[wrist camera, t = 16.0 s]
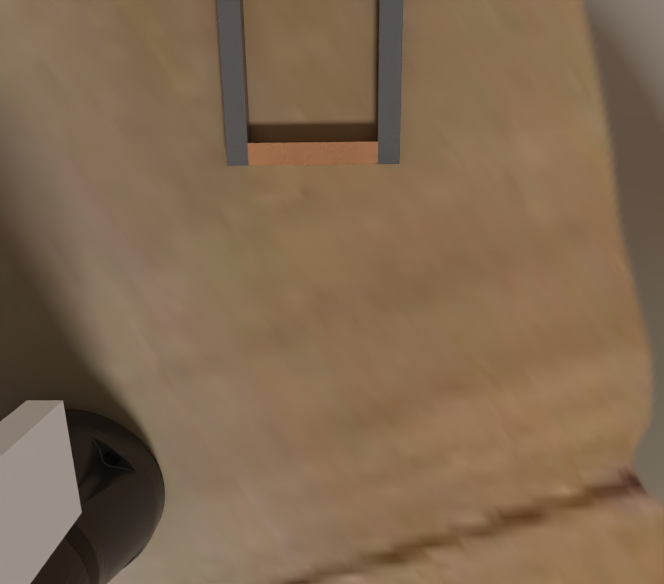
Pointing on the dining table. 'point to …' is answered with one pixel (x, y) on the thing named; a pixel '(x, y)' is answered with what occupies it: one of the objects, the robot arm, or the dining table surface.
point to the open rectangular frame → (310, 152)
